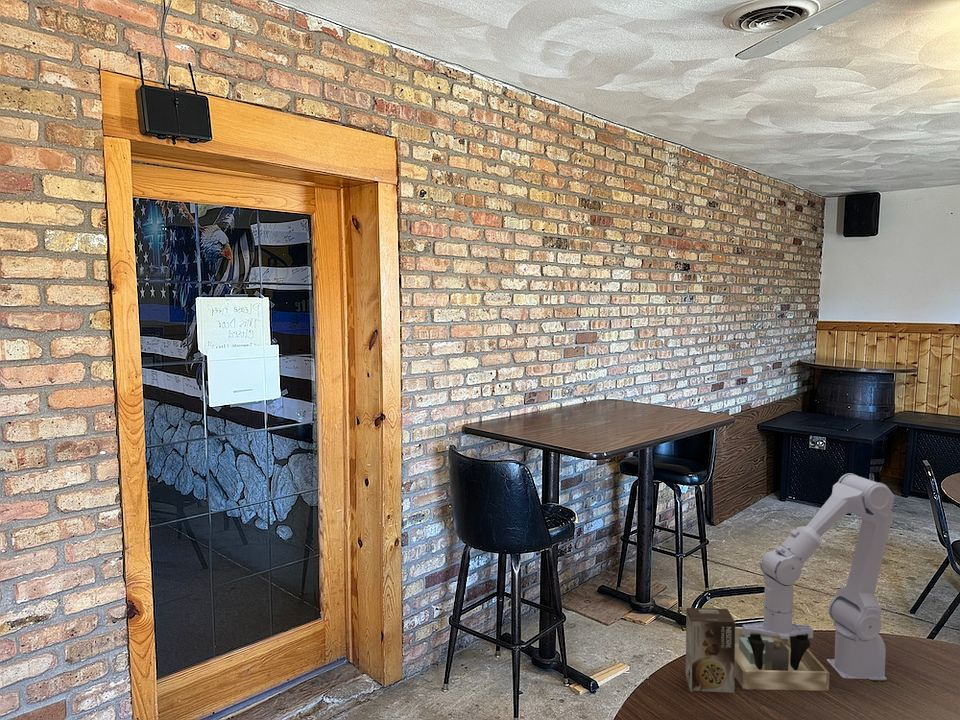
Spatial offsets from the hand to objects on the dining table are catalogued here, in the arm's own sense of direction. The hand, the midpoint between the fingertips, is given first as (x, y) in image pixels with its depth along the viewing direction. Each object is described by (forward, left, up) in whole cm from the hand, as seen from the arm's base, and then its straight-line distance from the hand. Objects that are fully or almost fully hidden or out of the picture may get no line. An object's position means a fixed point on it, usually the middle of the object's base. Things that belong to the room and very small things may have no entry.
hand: (776, 667), depth 147 cm
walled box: (0, -5, -3) cm, 6 cm away
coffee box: (+15, +3, -3) cm, 16 cm away
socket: (0, -9, -3) cm, 9 cm away
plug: (0, 0, -2) cm, 2 cm away
